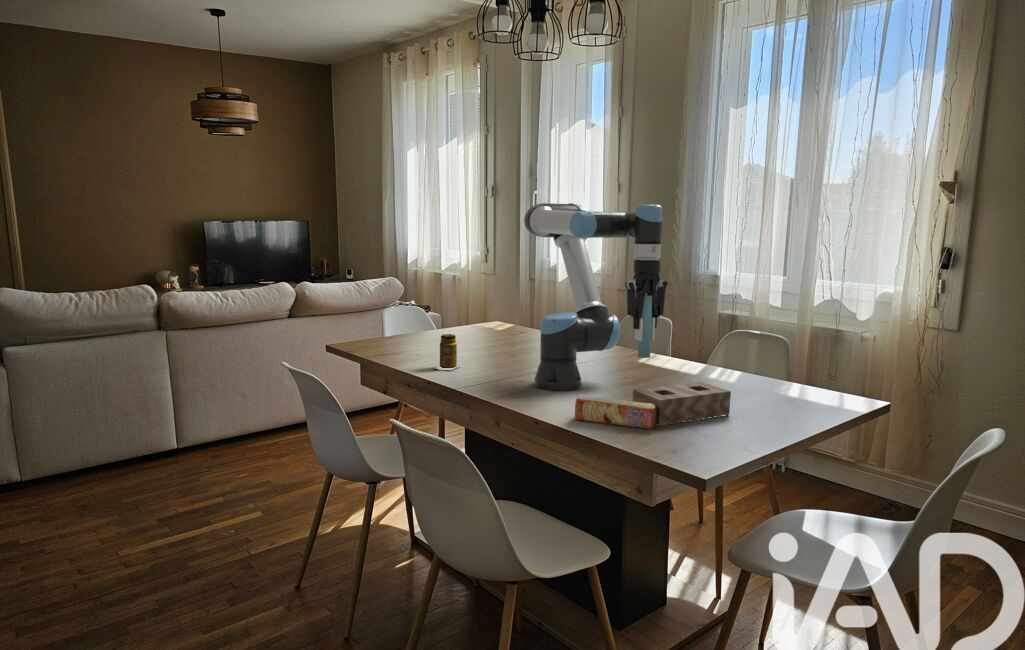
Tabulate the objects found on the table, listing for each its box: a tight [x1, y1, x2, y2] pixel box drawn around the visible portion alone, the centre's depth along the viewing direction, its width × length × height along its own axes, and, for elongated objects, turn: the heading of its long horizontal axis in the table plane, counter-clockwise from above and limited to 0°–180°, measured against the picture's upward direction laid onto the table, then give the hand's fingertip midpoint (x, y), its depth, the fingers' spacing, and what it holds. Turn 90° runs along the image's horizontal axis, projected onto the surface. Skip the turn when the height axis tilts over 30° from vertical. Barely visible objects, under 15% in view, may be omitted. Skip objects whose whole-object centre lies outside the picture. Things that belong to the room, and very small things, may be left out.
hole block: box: [632, 381, 732, 426], centre depth 189 cm, size 24×12×7 cm, turn 116°
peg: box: [637, 294, 652, 359], centre depth 198 cm, size 4×4×18 cm
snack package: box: [574, 394, 656, 430], centre depth 181 cm, size 21×7×7 cm, turn 68°
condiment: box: [439, 333, 458, 368], centre depth 243 cm, size 7×8×12 cm
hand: (644, 339), depth 199 cm, fingers closed on peg, 3 cm apart
